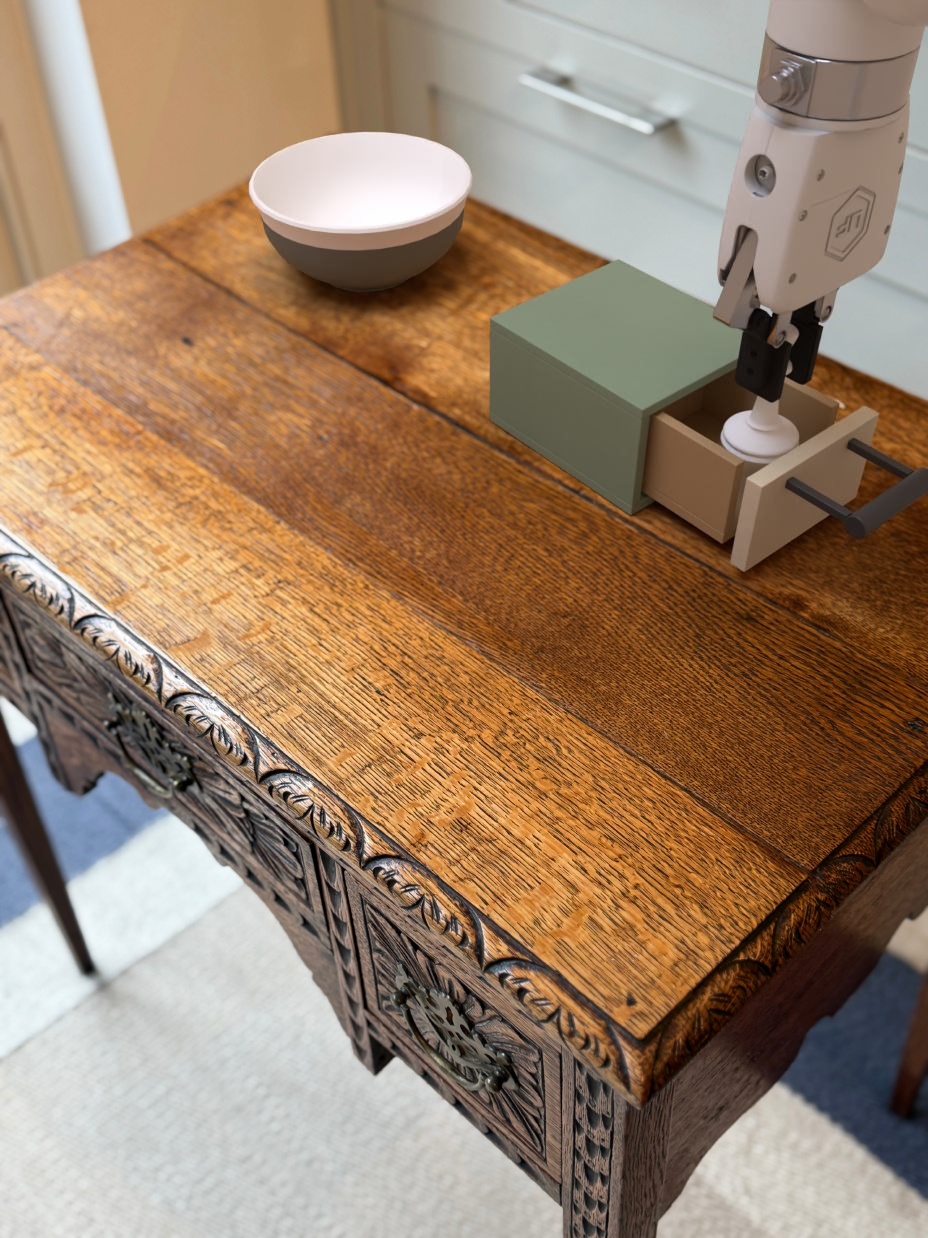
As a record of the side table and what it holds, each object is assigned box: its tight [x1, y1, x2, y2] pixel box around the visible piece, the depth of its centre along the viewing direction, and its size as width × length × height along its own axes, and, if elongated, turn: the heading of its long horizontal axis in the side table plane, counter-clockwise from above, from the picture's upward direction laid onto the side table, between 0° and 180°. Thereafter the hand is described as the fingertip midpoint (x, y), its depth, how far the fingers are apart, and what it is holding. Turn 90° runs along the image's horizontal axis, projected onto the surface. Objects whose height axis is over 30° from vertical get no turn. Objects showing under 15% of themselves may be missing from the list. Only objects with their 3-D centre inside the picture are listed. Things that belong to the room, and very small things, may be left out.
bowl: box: [248, 131, 474, 293], centre depth 101 cm, size 19×19×8 cm
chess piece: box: [721, 324, 799, 464], centre depth 72 cm, size 5×5×10 cm
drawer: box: [641, 368, 928, 573], centre depth 76 cm, size 19×11×7 cm, turn 40°
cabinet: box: [489, 259, 743, 516], centre depth 83 cm, size 15×13×9 cm
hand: (772, 380), depth 72 cm, fingers closed on chess piece
